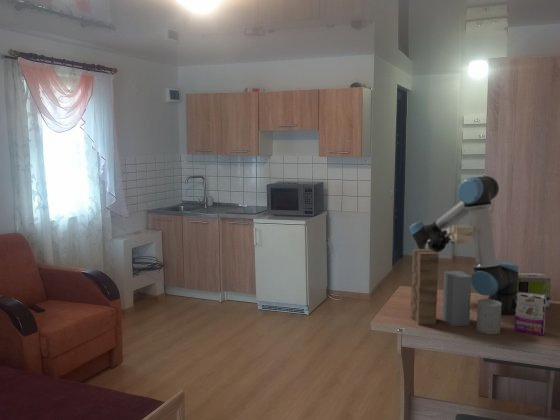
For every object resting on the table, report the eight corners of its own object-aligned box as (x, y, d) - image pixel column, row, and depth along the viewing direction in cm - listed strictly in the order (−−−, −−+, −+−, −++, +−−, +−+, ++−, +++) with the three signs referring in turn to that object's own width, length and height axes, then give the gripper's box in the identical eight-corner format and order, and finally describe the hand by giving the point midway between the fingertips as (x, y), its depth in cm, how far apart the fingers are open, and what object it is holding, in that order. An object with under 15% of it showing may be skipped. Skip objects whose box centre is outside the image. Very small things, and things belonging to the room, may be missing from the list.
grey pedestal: (442, 318, 236) (444, 271, 233) (459, 317, 237) (461, 270, 234) (451, 326, 226) (453, 277, 223) (469, 325, 227) (471, 276, 224)
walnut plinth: (410, 317, 238) (412, 249, 233) (427, 316, 239) (429, 248, 234) (418, 324, 228) (420, 254, 223) (435, 324, 229) (438, 253, 224)
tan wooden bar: (437, 234, 241) (438, 219, 240) (452, 234, 242) (452, 219, 241) (456, 243, 221) (457, 227, 220) (472, 243, 222) (472, 227, 221)
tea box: (541, 301, 259) (543, 272, 257) (549, 307, 250) (551, 278, 247) (510, 300, 261) (511, 272, 259) (517, 307, 251) (519, 277, 249)
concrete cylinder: (505, 331, 220) (506, 303, 218) (490, 335, 215) (491, 307, 213) (486, 324, 228) (487, 297, 226) (471, 328, 223) (472, 301, 222)
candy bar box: (544, 332, 219) (547, 295, 216) (542, 336, 214) (545, 298, 212) (515, 327, 225) (518, 290, 222) (513, 330, 221) (516, 293, 218)
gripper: (452, 252, 252) (473, 236, 230) (420, 253, 251) (438, 237, 229) (449, 237, 255) (470, 221, 233) (418, 238, 253) (435, 221, 232)
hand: (454, 229), depth 231 cm, fingers closed on tan wooden bar, 3 cm apart
